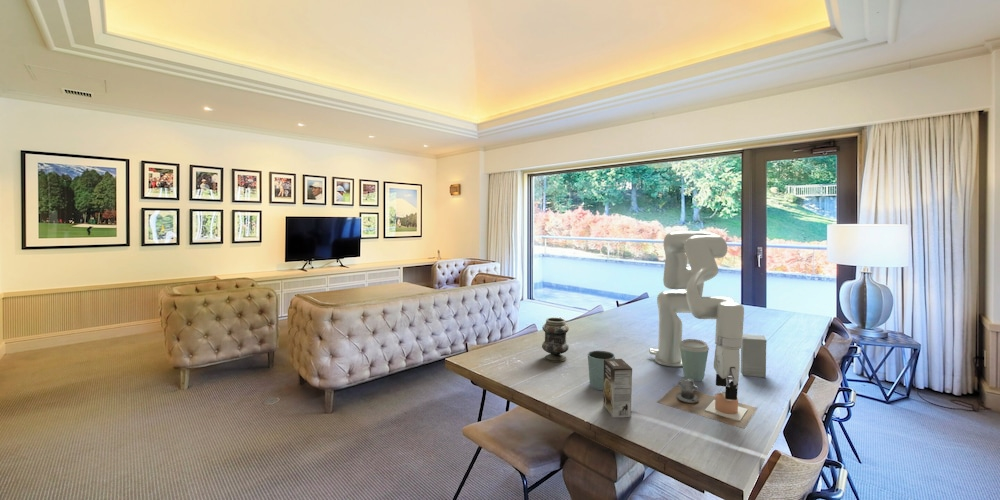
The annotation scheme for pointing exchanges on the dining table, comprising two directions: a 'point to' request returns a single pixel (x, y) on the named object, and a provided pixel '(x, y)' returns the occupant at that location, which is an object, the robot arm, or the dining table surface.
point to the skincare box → (753, 355)
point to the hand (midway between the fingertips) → (725, 392)
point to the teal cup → (597, 368)
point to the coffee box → (617, 387)
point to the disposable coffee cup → (694, 358)
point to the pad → (736, 416)
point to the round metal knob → (687, 391)
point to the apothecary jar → (555, 339)
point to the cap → (725, 404)
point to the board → (703, 404)
